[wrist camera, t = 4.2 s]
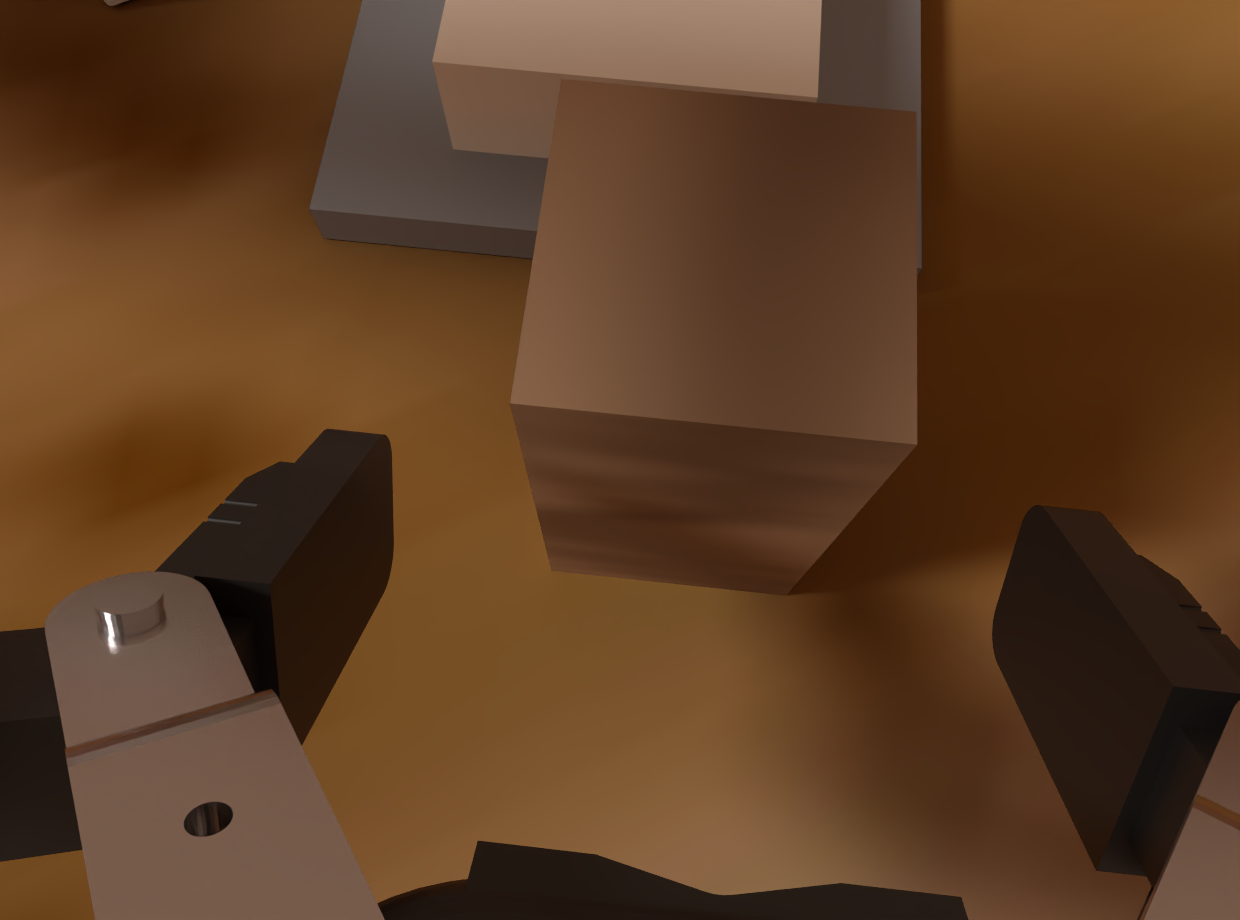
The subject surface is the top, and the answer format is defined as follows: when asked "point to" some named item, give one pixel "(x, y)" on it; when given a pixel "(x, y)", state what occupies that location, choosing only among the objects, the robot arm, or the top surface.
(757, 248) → the walnut block
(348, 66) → the plate
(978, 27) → the top surface
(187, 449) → the top surface
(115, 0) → the small box
